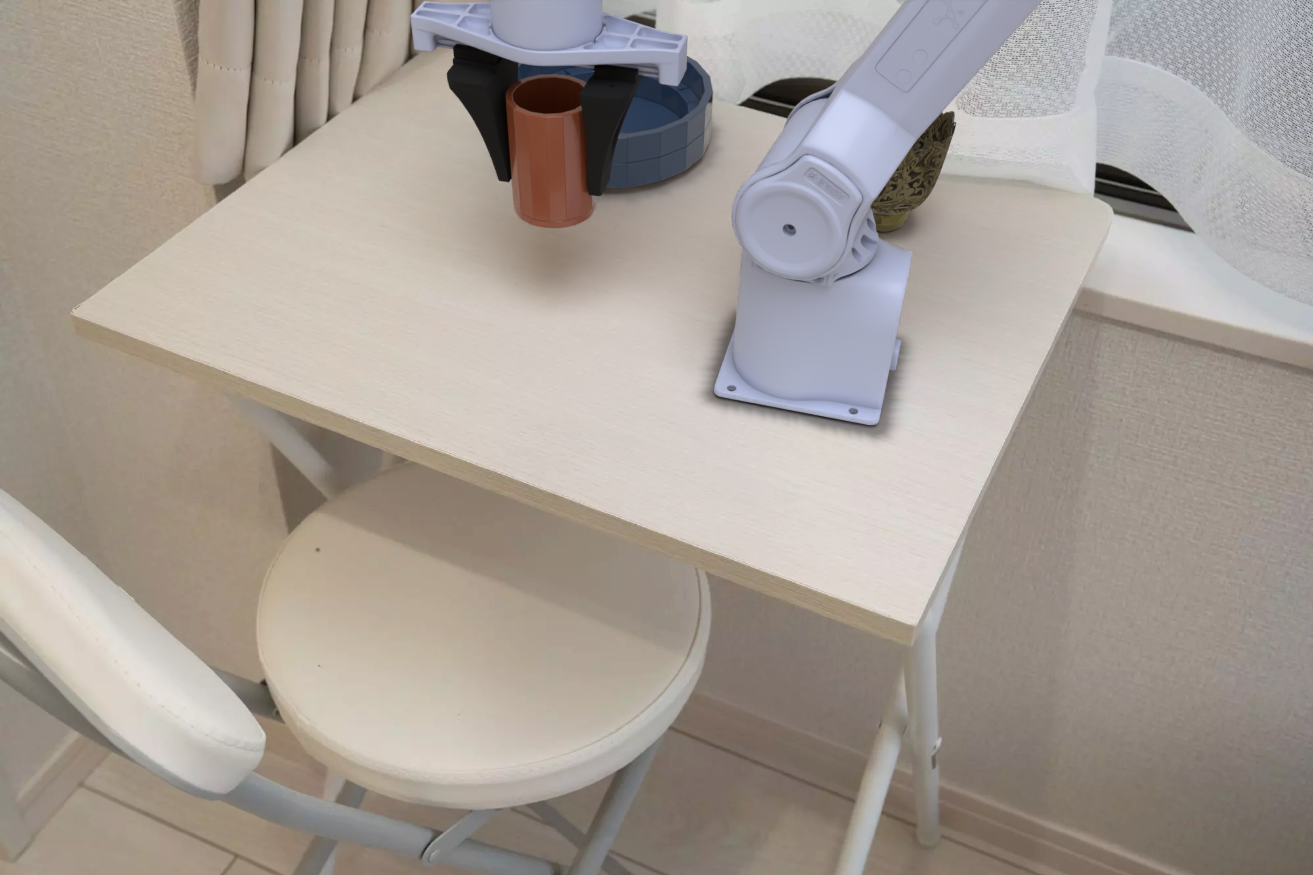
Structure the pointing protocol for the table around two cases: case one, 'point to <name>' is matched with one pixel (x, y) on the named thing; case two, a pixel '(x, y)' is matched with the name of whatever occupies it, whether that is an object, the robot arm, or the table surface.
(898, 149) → the robot arm
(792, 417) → the table surface
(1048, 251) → the table surface
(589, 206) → the cup
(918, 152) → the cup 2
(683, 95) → the bowl
